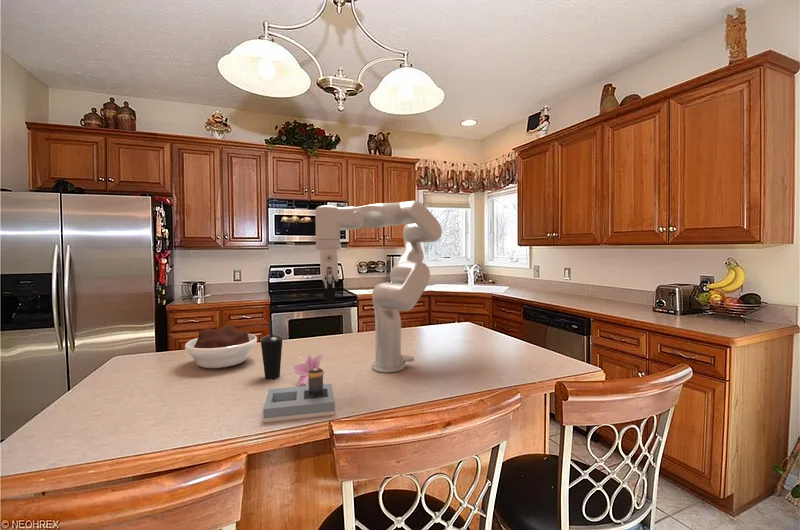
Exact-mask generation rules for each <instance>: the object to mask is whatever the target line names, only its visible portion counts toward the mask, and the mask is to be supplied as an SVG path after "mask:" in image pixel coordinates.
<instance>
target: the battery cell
mask: <svg viewBox="0 0 800 530" xmlns="http://www.w3.org/2000/svg"><path fill="white" fill-rule="evenodd" d="M323 371H324V369H323V368H321V369H318V368H314V369H311V370H309V371H308V381H309V399H313V398H323V384H324V375H323Z"/></svg>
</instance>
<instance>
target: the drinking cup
mask: <svg viewBox="0 0 800 530" xmlns="http://www.w3.org/2000/svg"><path fill="white" fill-rule="evenodd" d="M269 323H270V324H269V326H270V327H269V329H270V330H269V331H270V334H267V335H264V336H263V337H261V338H260V339H259V342H260V345H261V354H262V362H263V370H264V371H263V372H264V379H265V378H266V379H265V380H268V379H272V380H276V378H277V379H279V378H280V377H281V364H282V351H283V349H282V348H283V340H284V336H282V335H279V334H273V333H274V332H273V319H270V320H269ZM278 377H279V378H278Z"/></svg>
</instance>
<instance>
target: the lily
mask: <svg viewBox="0 0 800 530" xmlns="http://www.w3.org/2000/svg"><path fill="white" fill-rule="evenodd" d="M324 355H325V354H324V353H321V354H318V355H317V356H315V357H314V358H312V356H311V355H310V354H309V353H307V355H306V356H305V361H304V363H299V364H296V365H294V366H293V367H292V370H293V371H294V373H296V374H297V375H298V376H299V378H298V379H297V382H296V386H295V387H298V386H302V384H305V386H309V381H308V371H309V370H311V369H314V368H318V369H322V368H321V367H320V364H321V362H322V360H323V357H324ZM324 375H326V372H325V371H324V370H323V376H324Z"/></svg>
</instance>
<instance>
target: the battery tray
mask: <svg viewBox="0 0 800 530" xmlns="http://www.w3.org/2000/svg"><path fill="white" fill-rule="evenodd" d="M265 399H266V400H265V402H264V404H263V405H264V406H263V408H262V409H263V412H262V413H263V417H262V418H263V423H271V422H280V421H288V420H289V421H290V420H299V419H307V418H316V417H317V418H318V417H328V416H334V415H335V414H336V413H335V411H336V410H335V405H336V403H335V397H334V391H333V384H332V383H323V398H313V399H309V386H306V385H299V386H289V387H278V388H269V389H268V392H267V395H266V398H265Z"/></svg>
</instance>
